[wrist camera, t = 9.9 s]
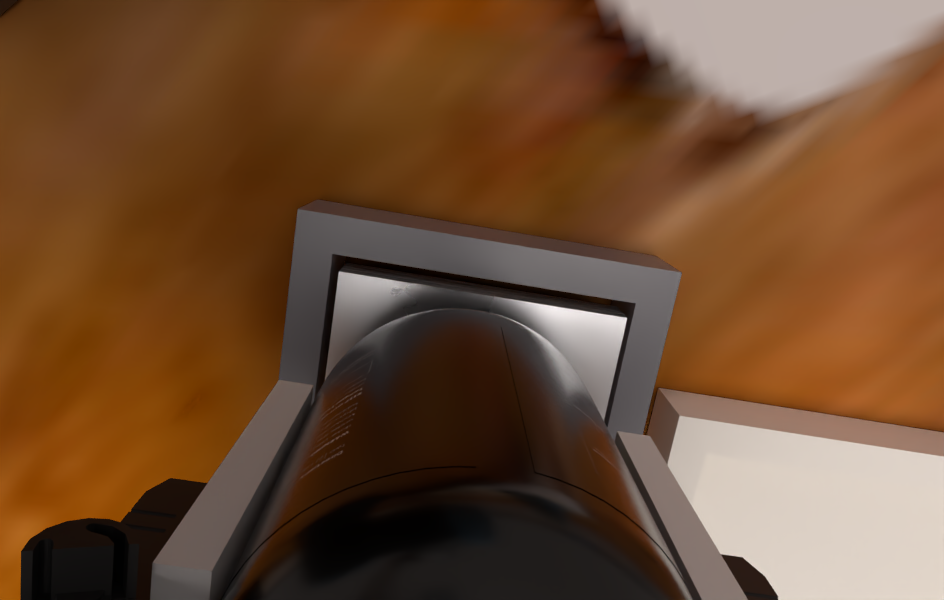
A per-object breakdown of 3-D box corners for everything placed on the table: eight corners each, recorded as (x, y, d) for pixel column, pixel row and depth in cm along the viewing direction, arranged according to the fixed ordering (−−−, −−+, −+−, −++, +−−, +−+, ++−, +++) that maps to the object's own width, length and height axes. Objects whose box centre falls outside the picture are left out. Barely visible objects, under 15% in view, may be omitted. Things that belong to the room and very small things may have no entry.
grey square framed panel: (280, 518, 23) (249, 582, 19) (317, 199, 20) (290, 212, 17) (585, 561, 23) (604, 631, 20) (656, 256, 21) (691, 278, 18)
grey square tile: (314, 509, 20) (305, 533, 19) (346, 262, 19) (338, 271, 18) (563, 546, 21) (569, 570, 20) (617, 306, 19) (626, 318, 18)
